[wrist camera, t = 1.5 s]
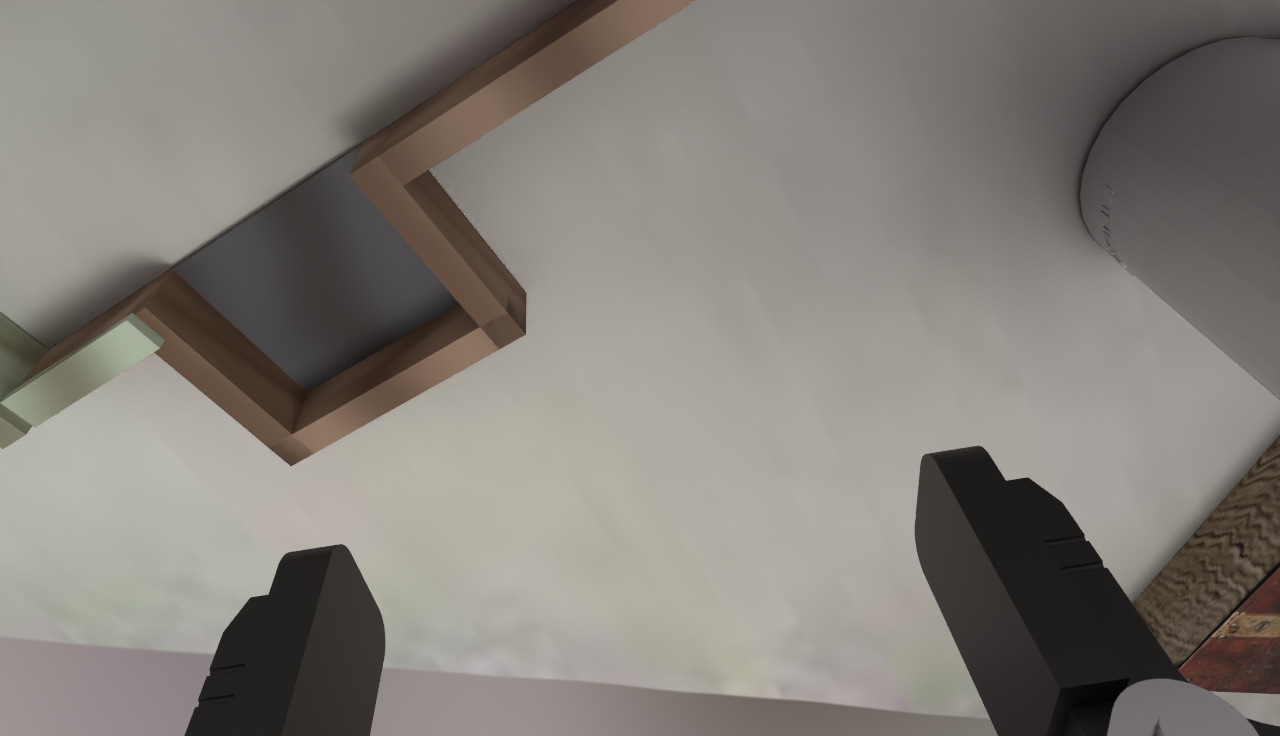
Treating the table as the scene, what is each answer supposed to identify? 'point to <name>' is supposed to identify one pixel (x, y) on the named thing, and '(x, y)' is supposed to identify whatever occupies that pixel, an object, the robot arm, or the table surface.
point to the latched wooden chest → (1226, 591)
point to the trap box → (335, 272)
